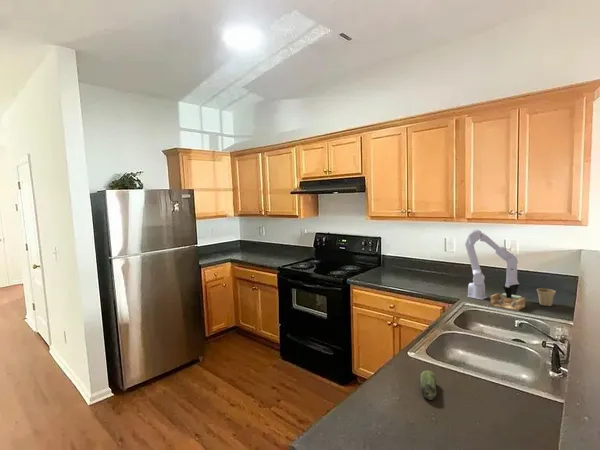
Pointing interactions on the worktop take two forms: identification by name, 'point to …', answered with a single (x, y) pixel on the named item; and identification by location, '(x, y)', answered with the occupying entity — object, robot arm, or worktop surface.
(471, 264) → the robot arm
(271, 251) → the worktop surface
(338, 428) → the worktop surface
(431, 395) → the vegetable
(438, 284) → the worktop surface
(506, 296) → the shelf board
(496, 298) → the peg cradle
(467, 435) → the worktop surface
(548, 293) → the flower pot
